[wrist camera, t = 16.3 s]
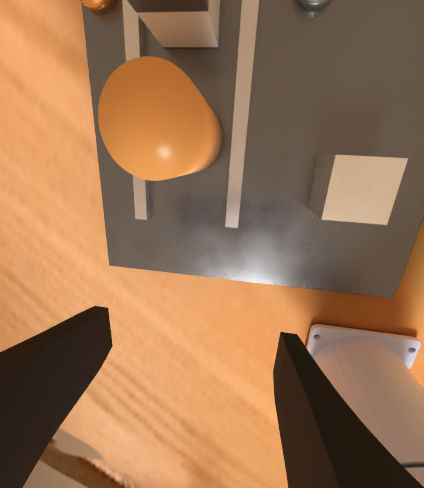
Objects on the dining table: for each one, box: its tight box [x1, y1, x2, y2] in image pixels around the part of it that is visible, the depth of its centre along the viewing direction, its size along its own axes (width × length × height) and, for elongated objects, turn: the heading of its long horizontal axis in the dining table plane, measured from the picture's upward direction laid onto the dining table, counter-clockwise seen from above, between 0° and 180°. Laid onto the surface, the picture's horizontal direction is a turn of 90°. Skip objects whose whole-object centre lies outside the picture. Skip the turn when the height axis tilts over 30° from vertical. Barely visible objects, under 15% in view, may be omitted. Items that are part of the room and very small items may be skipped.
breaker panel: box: [80, 0, 424, 299], centre depth 13 cm, size 20×20×5 cm
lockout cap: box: [98, 56, 223, 181], centre depth 11 cm, size 4×4×6 cm
